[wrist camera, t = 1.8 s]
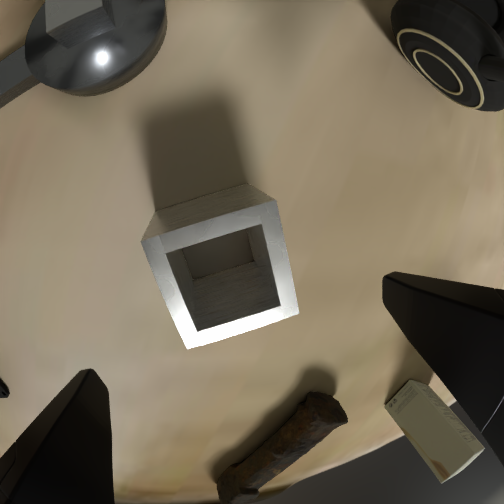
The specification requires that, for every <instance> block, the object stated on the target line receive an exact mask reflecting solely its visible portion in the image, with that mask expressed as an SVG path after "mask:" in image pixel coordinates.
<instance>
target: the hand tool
mask: <svg viewBox="0 0 504 504" xmlns="http://www.w3.org/2000/svg"><path fill="white" fill-rule="evenodd" d="M297 409H298V411H297V412H296V414H294V416H293V417H291V418H290V419H289V420H288V421H287V422H286V423H285V424H284V425H283V426H282V427H281V428H280V429H279V430H278V431H277V432H276V433H275V434H274V435H273V436H272V437H271V438H269V439H268V440H267V441H264V444H263V445H262V446H261V447H259V448H258V449H257V450H256V451H255V452H254V453H253V454H252V455H250V456H249V457H248V458H247V459H246V460H245V461H243V462H242V463H241V464H234V465H231V466H230V467H229V468H228V469H227V470H226V471H225V472H224V473H223V474H222V476H221V477H220V479H219V481H218V483H217V491H218V495H219V500H220V502H221V503H222V504H246V503H248V502H249V501H252V500H254V499H255V498H256V497H258V496H259V491H258V489H259V488H260V487H262V486H263V485H264V484H265V483H267V482H268V481H270V480H271V479H272V478H274V477H275V476H277V475H278V474H279V473H281V472H282V471H284V470H285V469H286V468H287V467H289V466H290V465H291V464H293V463H294V462H295V461H296V460H297V459H299V458H300V457H301V456H303V455H304V454H306V453H307V452H308V451H309V450H310V449H311V448H313V447H314V446H315V445H316V444H317V443H319V442H321V441H322V440H323V439H324V438H325V437H326V436H327V435H328V434H329V433H331V432H332V431H333V430H334V429H335V428H337V427H339V426H341V425H343V424H346V423H347V422H348V418H347V415H346V413H345V411H344V410H343V408H342V407H341V405H340V403H339V401H337V400H336V399H334V398H333V397H332V396H331V395H327V394H324V393H321V392H310V393H308V395H307V401H306V402H304V403H300V404H298V406H297Z"/></svg>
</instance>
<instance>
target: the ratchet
mask: <svg viewBox="0 0 504 504" xmlns="http://www.w3.org/2000/svg"><path fill="white" fill-rule="evenodd" d="M166 30H167V16H166V8H165V0H45V3H44V4H43V5H42V7H41V8H40V9H39V11H38V12H37V14H36V15H35V17H34V19H33V21H32V23H31V25H30V28H29V30H28V33H27V37H26V42H25V45H24V46H22V47H21V48H19V49H18V50H16V51H15V52H13V53H12V54H10V55H9V56H7V57H6V58H5V59H3V60H2V61H0V108H2V107H3V106H5V105H6V104H7V103H9V102H10V101H12V100H13V99H15V98H16V97H18V96H19V95H21V94H22V93H24V92H26V91H27V90H29V89H30V88H32V87H34V86H35V85H37V84H39V83H40V82H41V83H43V84H45V85H47V86H50V87H52V88H55V89H57V90H60V91H62V92H65V93H68V94H71V95H75V96H95V95H99V94H104V93H107V92H109V91H112V90H114V89H117V88H119V87H121V86H123V85H124V84H126V83H128V82H129V81H131V80H132V79H133V78H135V77H136V76H137V75H139V74H140V73H141V72H142V71H143V70H144V69H145V68H146V67H147V66H148V65H149V64H150V63H151V61H152V60H153V59H154V58H155V56H156V55H157V53H158V51H159V50H160V48H161V46H162V44H163V41H164V38H165V35H166Z"/></svg>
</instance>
